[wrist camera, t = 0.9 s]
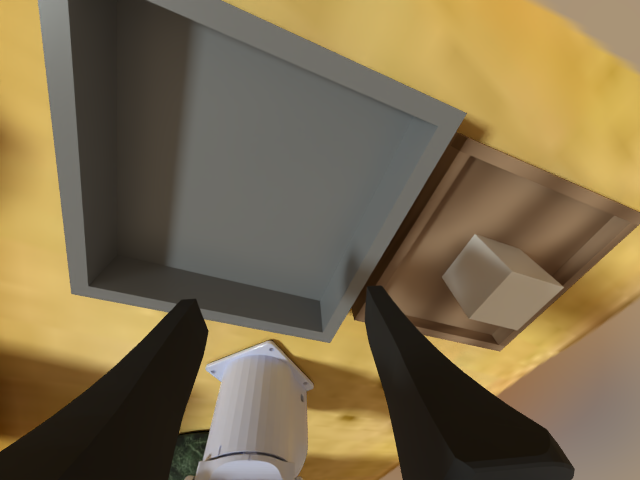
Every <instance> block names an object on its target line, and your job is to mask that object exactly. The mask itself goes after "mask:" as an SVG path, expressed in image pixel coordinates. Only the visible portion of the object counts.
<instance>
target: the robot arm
mask: <svg viewBox="0 0 640 480" xmlns="http://www.w3.org/2000/svg"><path fill="white" fill-rule="evenodd" d="M365 325H366V330H367V335H368V340H369V344H370V348H371V351H372V354H373V357H374V361H375V364H376V367H377V370H378V374H379V377H380V380H381V383H382V387H383V390H384V393H385V397H386V400H387V404H388V409H389V413H390V418H391V423H392V427H393V432H394V437H395V442H396V447H397V452H398V457H399V462H400V467H401V473H402V478H403V480H571V479H572V478H573V476H574V467H573V466H572V464H571V463H570V461H569V460H568V458H567V457H566V455H565V454H564V452H563V451H562V449H561V448H560V446H559V445H558V443H557V442H556V441H555V440H554V438H553V437H552V436H551V434H550V433H549V432H548V430H547V429H545V428H543V427H542V426H541V425H539V424H537V423H536V422H534V421H533V420H531V419H529V418H528V417H526V416H525V415H523V414H522V413H520V412H518V411H516V410H515V409H514V408H512V407H510V406H509V405H507V404H506V403H505V402H503V401H502V400H500V399H499V398H497V397H496V396H495V395H493V394H492V393H490V392H489V391H488V390H486V389H485V388H484V387H482V386H481V385H480V384H478V383H477V382H476V381H475V380H473V379H472V378H471V377H469V376H468V375H467V374H465V373H464V372H463V371H462V370H461V369H459V368H458V367H457V366H456V365H455V364H453V363H452V362H451V361H450V360H449V359H448V358H447V357H445V356H444V355H443V354H442V353H441V352H440V351H439V350H438V349H437V348H436V347H435V346H434V345H433V344H432V343H431V342H430V341H429V340H428V339H427V338H426V337H425V336H424V335H423V334H422V333H421V332H420V331H419V330H418V329H417V328H416V327H415V326H414V325H413V323H412V322H411V321H410V320H409V319H408V318H407V317H406V315H405V314H404V313H403V312H402V311H401V310H400V308H399V307H398V306H397V305H396V303H395V302H394V301H393V300H392V298H391V297H390V296H389V294H388V293H387V292H386V290H385V289H384V287H382V286H381V285H379V286H367V292H366V306H365ZM207 336H208V329H207V326H206V323H205V321H204V318H203V316H202V313H201V310H200V308H199V305H198V302H197V300H196V299H182V300H180V301H179V302H178V303H177V304H176V305H175V307H174V308H173V309H172V310H171V311H170V312H169V313H168V314H167V315H166V316H165V317H164V318H163V319H162V320H161V321H160V322H159V323H158V324H157V326H156V327H155V328H154V329H153V330H152V331H151V332H150V333H149V334H148V335H147V336H146V337H145V338H144V339H143V340H142V341H141V342H140V343H139V344H138V345H137V346H136V347H135V348H134V349H133V350H131V351H130V352H129V353H128V354H127V355H126V356H125V357H124V358H123V359H122V360H121V361H120V362H119V363H118V364H117V365H116V366H114V367H113V368H112V369H111V370H110V371H109V372H108V373H107V374H105V375H104V376H103V377H102V378H101V379H99V380H98V381H97V382H96V383H95V384H93V385H92V386H91V387H90V388H89V389H87V390H86V391H85V392H84V393H82V394H81V395H80V396H78V397H77V398H76V399H74V400H73V401H72V402H70V403H69V404H68V405H67V406H65V407H64V408H63V409H61V410H60V411H59V412H57V413H56V414H55V415H53V416H52V417H51V418H49V419H48V420H46V421H45V422H43V423H42V424H41V425H39V426H38V427H36V428H35V429H34V430H32V431H31V432H29V433H28V434H26V435H25V436H23V437H22V438H20V439H19V440H17V441H16V442H14V443H13V444H11V445H10V446H8V447H7V448H5V449H4V450H2V451H1V452H0V480H168V478H169V474H170V469H171V465H172V460H173V455H174V451H175V446H176V442H177V438H178V434H179V430H180V426H181V422H182V418H183V415H184V412H185V408H186V406H187V403H188V400H189V397H190V394H191V391H192V388H193V385H194V382H195V379H196V376H197V373H198V370H199V367H200V364H201V361H202V358H203V355H204V351H205V346H206V341H207ZM206 370H207V371H208V372H209V373H210V374H212V375H213V376H214V377H216V378H217V379H218V380H219V381H221V386H220V390H219V394H218V398H217V402H216V407H215V411H214V415H213V419H212V423H211V428H210V432H209V436H208V440H207V444H206V449H205V453H204V457H203V461H200V462H199V464H198V468H197V472H196V476H187V477H186V478H185V479H184V480H303V478H302V477H297V476H298V474H299V473H300V471H301V469H302V467H303V465H304V462H305V459H306V455H307V450H308V428H307V391H309V390H311V389H313V388H314V384H313V383H312V382H311V381H310V380H309V379H308V378H307V376H306V375H305V374H304V373H303V372H302V371H301V370H300V369H299V368H298V367H297V366H296V365H295V364H294V363H293V362H292V361H291V360H290V359H289V358H288V357H287V356H286V355H285V353H284V352H283V351H282V350H281V349H280V348H279V347H278V346H277V345H276V344H275V343H274V342H273V341H266V342H263V343H261V344H258V345H255V346H253V347H250V348H248V349H245V350H243V351H240V352H237V353H235V354H232V355H230V356H227V357H225V358H222V359H219V360H217V361H214V362H212V363H209V364H207V366H206Z"/></svg>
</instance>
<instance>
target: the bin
mask: <svg viewBox="0 0 640 480" xmlns="http://www.w3.org/2000/svg"><path fill="white" fill-rule="evenodd" d="M38 6H39V14H40V23H41V32H42V41H43V49H44V58H45V67H46V76H47V84H48V93H49V102H50V111H51V119H52V128H53V137H54V146H55V154H56V163H57V172H58V181H59V189H60V198H61V207H62V216H63V224H64V233H65V242H66V251H67V259H68V268H69V277H70V286H71V294H75V295H80V296H85V297H90V298H96V299H101V300H106V301H111V302H117V303H122V304H127V305H133V306H138V307H143V308H148V309H154V310H159V311H164V312H170V311H171V310H172V309H173V308H174V307H175V305H176V304H177V303H178V302H179V301H180V300H182V299H196V300H197V302H198V305H199V308H200V310H201V313H202V316H203V318H204V319H206V320H212V321H217V322H222V323H227V324H233V325H238V326H243V327H248V328H254V329H259V330H264V331H270V332H275V333H280V334H285V335H291V336H296V337H301V338H306V339H312V340H317V341H322V342H327V343H330V342H331V341H332V339H333V337H334V335H335V334H336V332H337V330H338V329H339V327H340V325H341V324H342V322H343V320H344V319H345V317H346V315H347V314H348V312H349V310H350V309H351V307H352V305H353V304H354V302H355V300H356V299H357V297H358V295H359V294H360V292H361V290H362V289H363V287H364V285H365V283H366V282H367V280H368V278H369V277H370V275H371V273H372V272H373V270H374V268H375V267H376V265H377V263H378V262H379V260H380V258H381V257H382V255H383V253H384V252H385V250H386V248H387V247H388V245H389V243H390V242H391V240H392V238H393V237H394V235H395V233H396V231H397V230H398V228H399V226H400V225H401V223H402V221H403V220H404V218H405V216H406V215H407V213H408V211H409V210H410V208H411V206H412V205H413V203H414V201H415V200H416V198H417V196H418V195H419V193H420V191H421V190H422V188H423V186H424V185H425V183H426V181H427V179H428V178H429V176H430V174H431V173H432V171H433V169H434V168H435V166H436V164H437V163H438V161H439V159H440V158H441V156H442V154H443V153H444V151H445V149H446V148H447V146H448V144H449V143H450V141H451V139H452V138H453V136H454V134H455V133H456V131H457V129H458V127H459V126H460V124H461V122H462V121H463V119H464V117H465V116H466V114H467V113H465V112H463V111H461V110H458V109H456V108H454V107H452V106H450V105H448V104H445V103H443V102H441V101H439V100H437V99H434V98H432V97H430V96H428V95H426V94H424V93H421V92H419V91H417V90H415V89H413V88H411V87H408V86H406V85H404V84H402V83H400V82H398V81H395V80H393V79H391V78H389V77H387V76H384V75H382V74H380V73H378V72H376V71H374V70H371V69H369V68H367V67H365V66H363V65H361V64H358V63H356V62H354V61H352V60H350V59H348V58H345V57H343V56H341V55H339V54H337V53H335V52H332V51H330V50H328V49H326V48H324V47H321V46H319V45H317V44H315V43H313V42H311V41H308V40H306V39H304V38H302V37H300V36H298V35H295V34H293V33H291V32H289V31H287V30H285V29H282V28H280V27H278V26H276V25H274V24H271V23H269V22H267V21H265V20H263V19H261V18H258V17H256V16H254V15H252V14H250V13H248V12H245V11H243V10H241V9H239V8H237V7H235V6H232V5H230V4H228V3H226V2H224V1H221V0H38Z"/></svg>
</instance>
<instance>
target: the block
mask: <svg viewBox="0 0 640 480" xmlns="http://www.w3.org/2000/svg"><path fill="white" fill-rule="evenodd" d="M442 278H443V280H444V281H445V283H446V284H447V286H448V288H449V289H450V291H451V292H452V294H453V295H454V297H455V298H456V300H457V301H458V303H459V304H460V306H461V307H462V309H463V311H464V312H465V314H466V315H467V317H468V318H469V319H472V320H476V321H481V322H485V323H489V324H493V325H497V326H501V327H505V328H509V329H513V330H518V329H520V328H521V327H522V326H523V325H524V324H525V323H526V322H527V321H528V320H529V319H530V318H531V317H533V316H534V315H535V314H536V313H537V312H538V311H539V310H540V309H541V308H542V307H543V306H544V305H546V304H547V303H548V302H549V301H550V300H551V299H552V298H553V297H554V296H555V295H556V294H557V293H559V292H560V291H561V290H562V289H563V288H564V287H563V286H562V285H561V284H560V283H559V282H557V281H556V280H555V279H554V278H553V277H552V276H550V275H549V274H548V273H547V272H546V271H545V270H544V269H542V268H541V267H540V266H539V265H538V264H537V263H535V262H534V261H533V260H532V259H531V258H530V257H529V256H527V255H526V254H525V253H524V252H523V251H522V250H520V249H518V248H515V247H512V246H509V245H506V244H503V243H500V242H497V241H494V240H491V239H488V238H485V237H483V236H480V235H477V234H474V236H473V237H472V238H471V240H470V241H469V242H468V244H467V245H466V246H465V248H464V249H463V250H462V251H461V253H460V254H459V255H458V257H457V258H456V259H455V261H454V262H453V263H452V264H451V266H450V267H449V268H448V270H447V271H446V272H445V274H444V275H443V276H442Z"/></svg>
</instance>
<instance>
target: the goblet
mask: <svg viewBox="0 0 640 480" xmlns="http://www.w3.org/2000/svg"><path fill="white" fill-rule="evenodd" d="M208 436H209V432H201V433H190V434H183V435H178V438H177V442H176V446H175V451H174V455H173V460H172V465H171V469H170V474H169V478H168V480H184V479H185V478H186V477H187V476H196V472H197V468H198V464H199V462H200V461H203V457H204V453H205V449H206V444H207V440H208Z"/></svg>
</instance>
